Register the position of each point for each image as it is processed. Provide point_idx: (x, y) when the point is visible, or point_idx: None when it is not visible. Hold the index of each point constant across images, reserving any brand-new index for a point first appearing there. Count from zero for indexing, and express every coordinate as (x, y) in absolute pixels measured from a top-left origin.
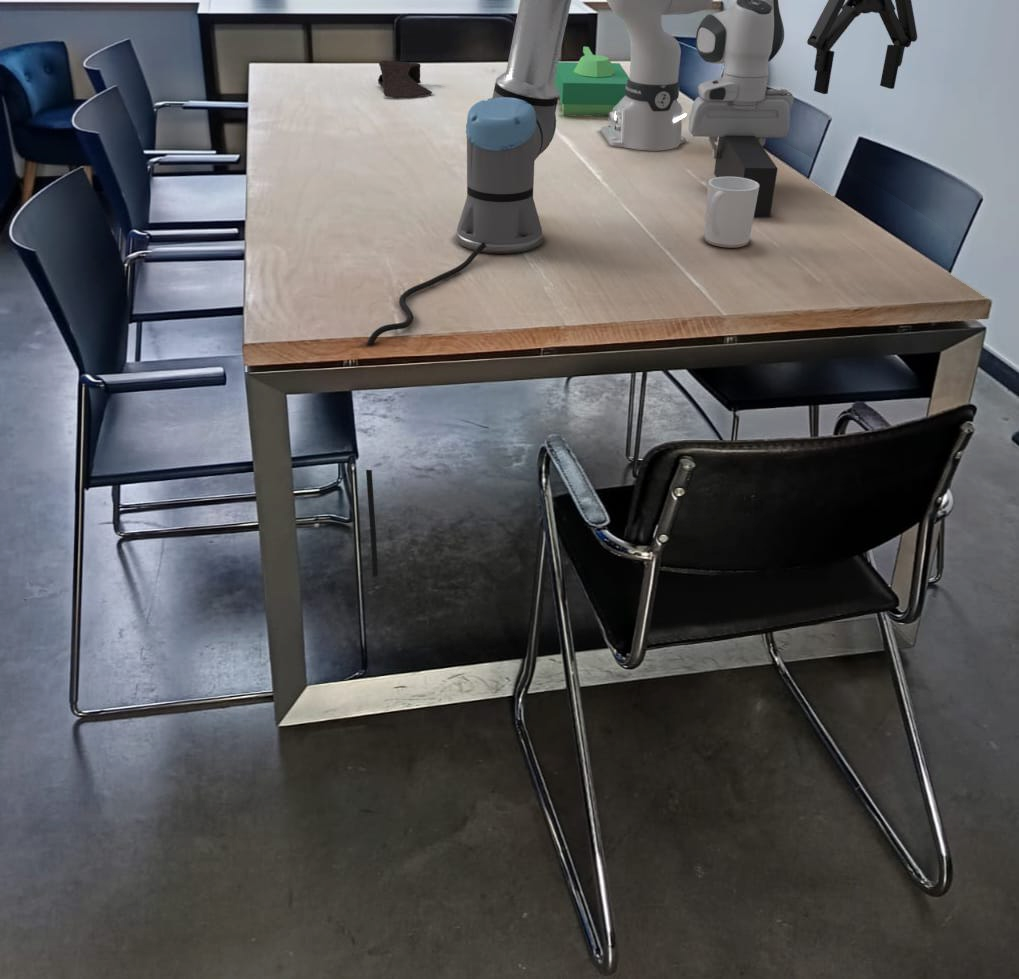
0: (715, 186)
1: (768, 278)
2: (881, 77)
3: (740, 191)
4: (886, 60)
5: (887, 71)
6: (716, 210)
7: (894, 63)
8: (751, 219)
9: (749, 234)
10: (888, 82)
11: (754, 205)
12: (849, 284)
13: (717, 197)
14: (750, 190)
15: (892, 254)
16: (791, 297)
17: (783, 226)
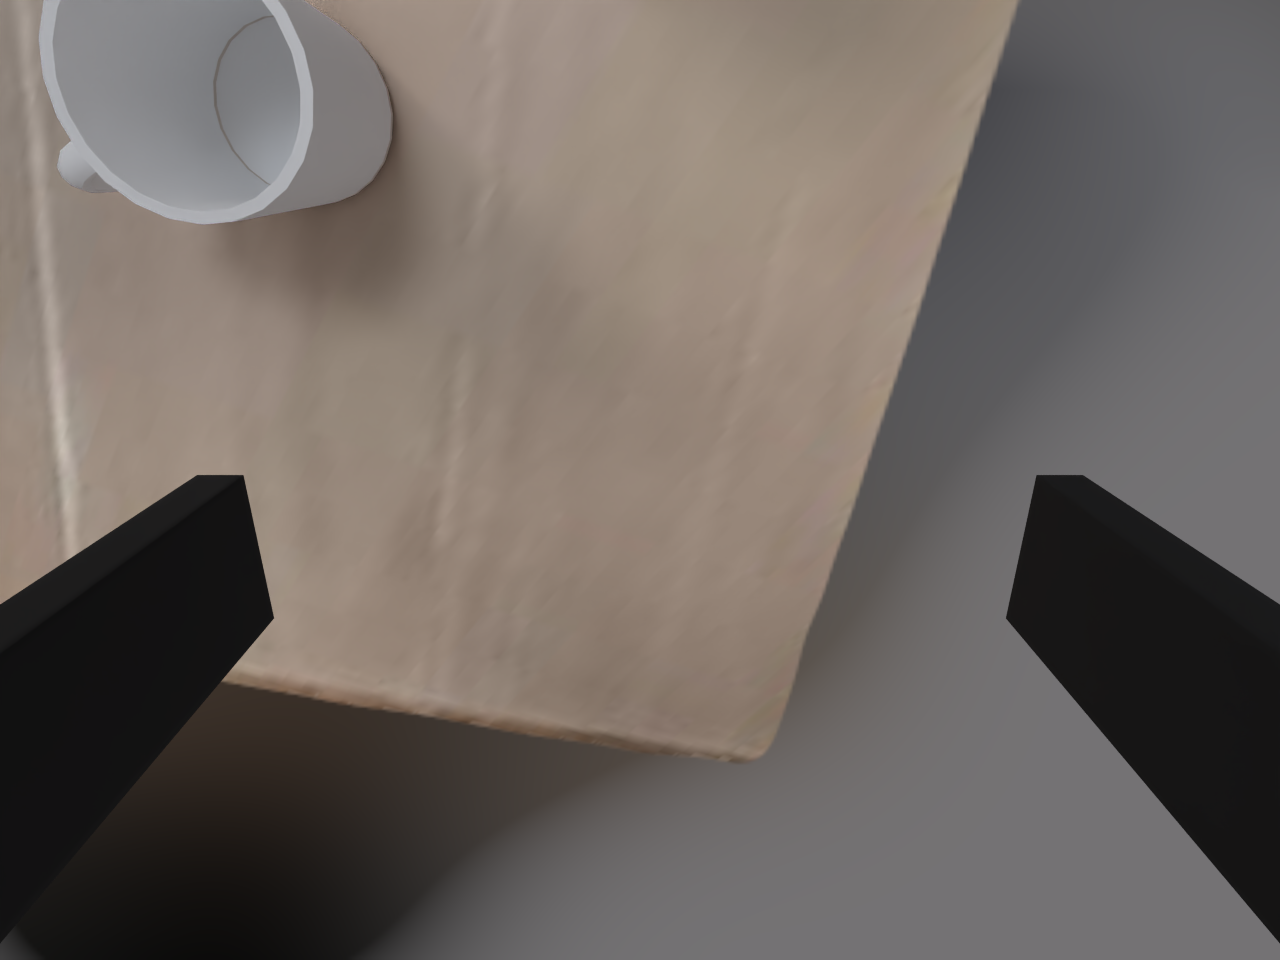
0: (60, 100)
1: (301, 479)
2: (1082, 507)
3: (169, 217)
4: (1211, 643)
5: (1107, 625)
6: (113, 191)
7: (1153, 781)
8: (327, 195)
9: (357, 185)
10: (1039, 607)
11: (310, 193)
12: (510, 588)
13: (72, 185)
14: (224, 222)
15: (805, 436)
16: (302, 610)
17: (634, 15)
